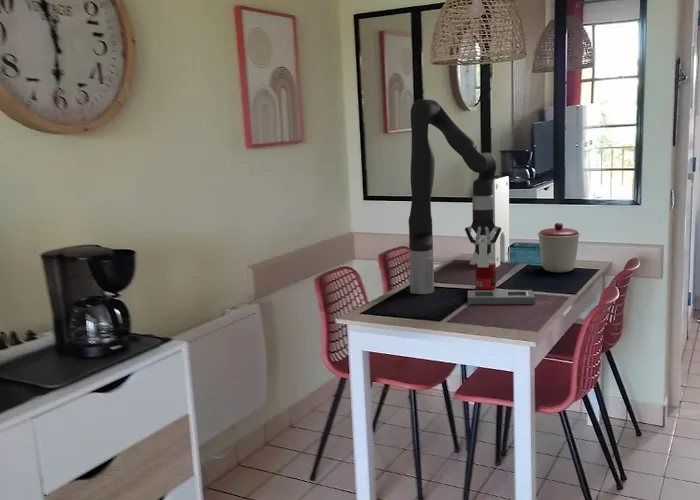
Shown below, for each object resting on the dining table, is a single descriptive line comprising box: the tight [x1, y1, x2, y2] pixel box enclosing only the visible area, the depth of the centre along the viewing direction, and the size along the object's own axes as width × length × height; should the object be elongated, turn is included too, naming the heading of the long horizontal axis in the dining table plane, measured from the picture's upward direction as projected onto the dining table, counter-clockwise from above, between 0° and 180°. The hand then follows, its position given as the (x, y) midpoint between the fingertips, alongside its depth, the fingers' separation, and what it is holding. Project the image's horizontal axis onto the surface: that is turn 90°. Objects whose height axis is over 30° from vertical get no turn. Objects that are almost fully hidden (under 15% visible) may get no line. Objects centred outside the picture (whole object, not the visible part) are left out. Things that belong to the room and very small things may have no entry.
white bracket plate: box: [469, 175, 510, 268], centre depth 323 cm, size 20×14×40 cm
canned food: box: [474, 260, 497, 290], centre depth 276 cm, size 8×8×11 cm
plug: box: [478, 239, 489, 267], centre depth 256 cm, size 4×4×10 cm
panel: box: [467, 289, 536, 305], centre depth 258 cm, size 24×11×3 cm, turn 80°
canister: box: [536, 222, 581, 273], centre depth 302 cm, size 18×18×21 cm
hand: (483, 253), depth 256 cm, fingers closed on plug, 3 cm apart
